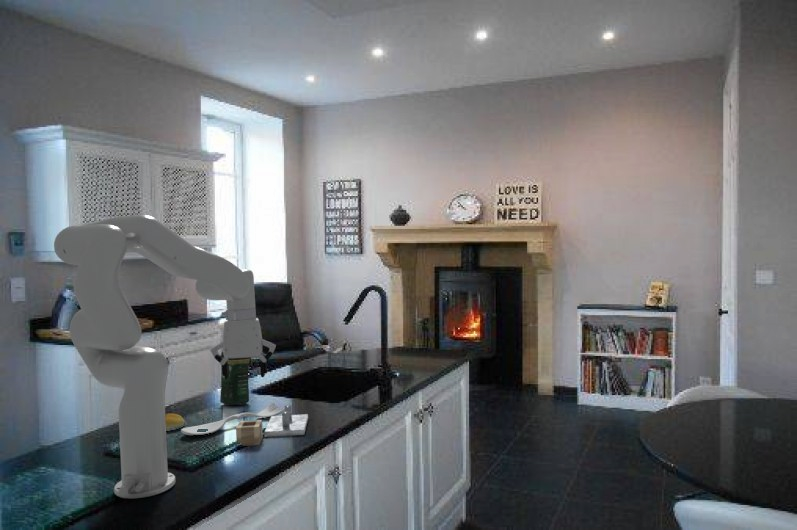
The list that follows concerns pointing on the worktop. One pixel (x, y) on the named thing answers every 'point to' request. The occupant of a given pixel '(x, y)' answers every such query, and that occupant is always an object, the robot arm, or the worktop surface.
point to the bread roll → (173, 420)
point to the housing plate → (287, 431)
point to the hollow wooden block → (249, 432)
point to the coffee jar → (235, 382)
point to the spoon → (215, 426)
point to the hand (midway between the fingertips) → (245, 377)
